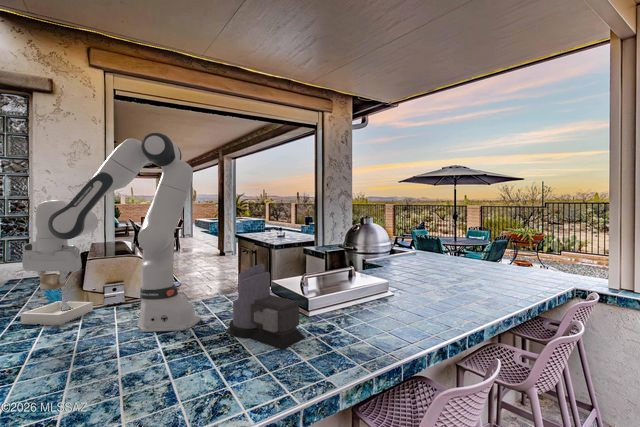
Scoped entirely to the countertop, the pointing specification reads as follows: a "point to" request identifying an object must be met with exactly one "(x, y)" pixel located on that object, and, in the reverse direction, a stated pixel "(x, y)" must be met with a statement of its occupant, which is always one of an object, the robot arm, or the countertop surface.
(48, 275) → the block
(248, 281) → the juicer
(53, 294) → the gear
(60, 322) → the tray
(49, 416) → the countertop surface
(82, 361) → the countertop surface
